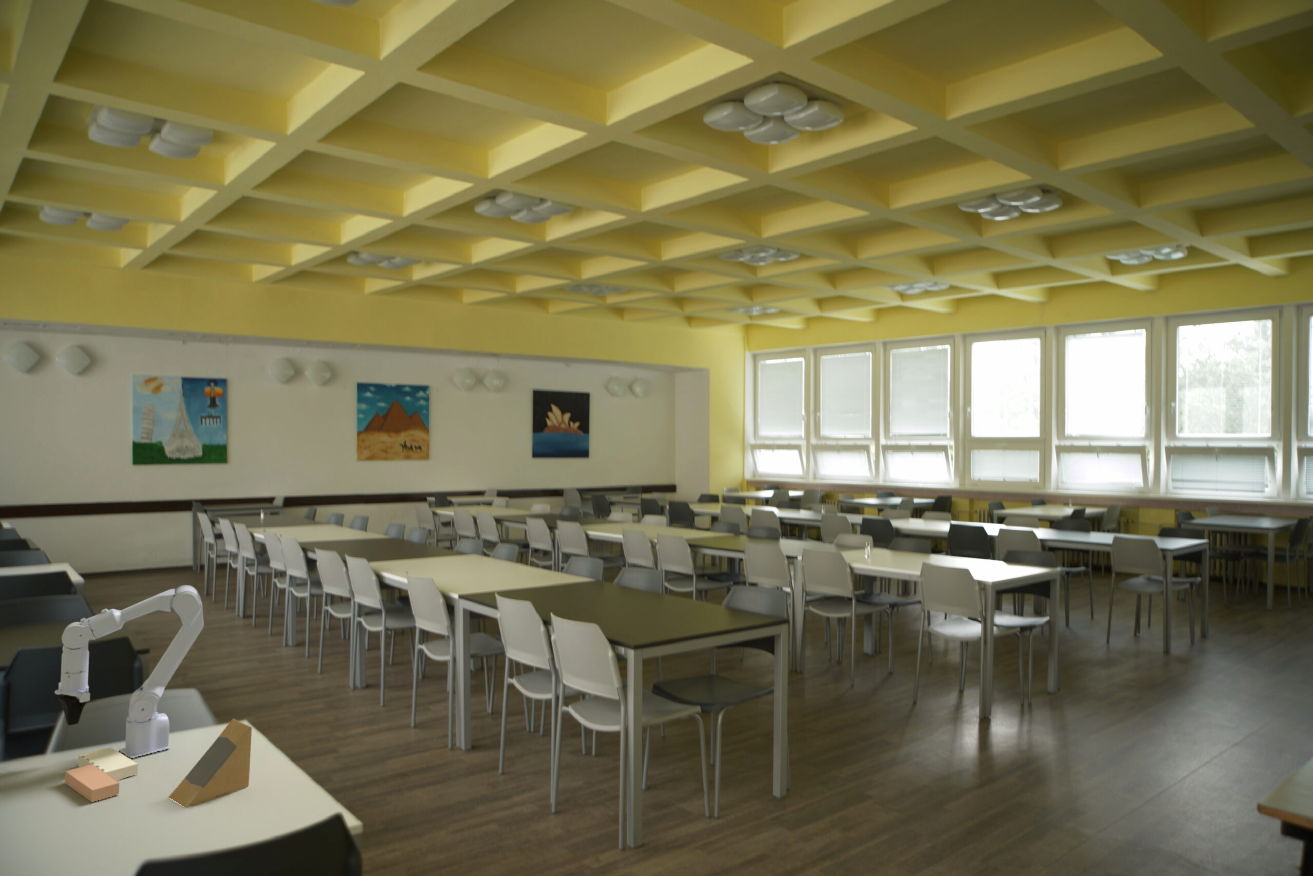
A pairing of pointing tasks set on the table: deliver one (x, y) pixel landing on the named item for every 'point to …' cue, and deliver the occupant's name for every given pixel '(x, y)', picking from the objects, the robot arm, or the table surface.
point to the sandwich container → (218, 768)
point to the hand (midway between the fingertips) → (72, 724)
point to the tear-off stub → (91, 783)
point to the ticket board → (109, 763)
